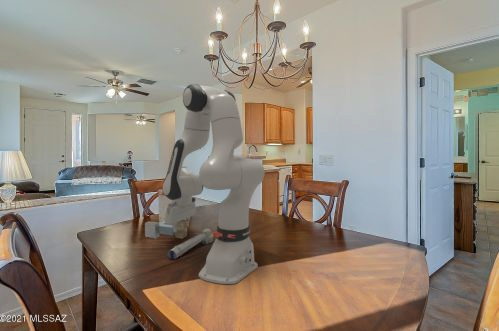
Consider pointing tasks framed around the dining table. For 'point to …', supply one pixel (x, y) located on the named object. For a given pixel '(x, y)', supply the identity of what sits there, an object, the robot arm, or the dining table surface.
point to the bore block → (166, 229)
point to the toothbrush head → (191, 243)
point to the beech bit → (181, 229)
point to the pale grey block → (152, 229)
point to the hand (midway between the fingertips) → (181, 228)
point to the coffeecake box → (163, 205)
